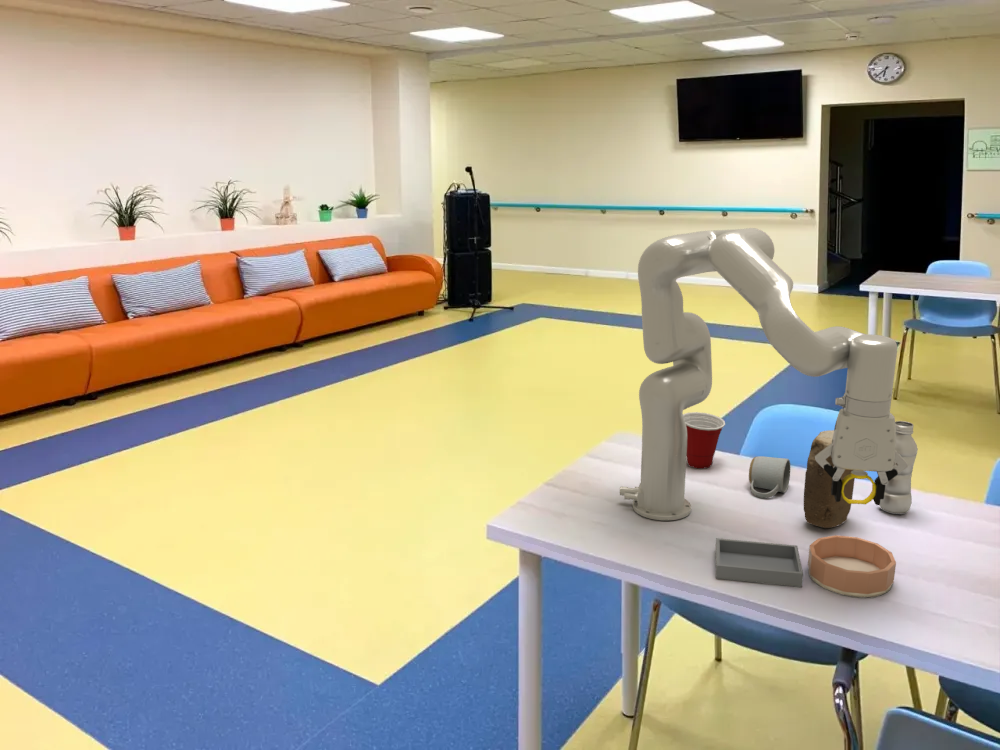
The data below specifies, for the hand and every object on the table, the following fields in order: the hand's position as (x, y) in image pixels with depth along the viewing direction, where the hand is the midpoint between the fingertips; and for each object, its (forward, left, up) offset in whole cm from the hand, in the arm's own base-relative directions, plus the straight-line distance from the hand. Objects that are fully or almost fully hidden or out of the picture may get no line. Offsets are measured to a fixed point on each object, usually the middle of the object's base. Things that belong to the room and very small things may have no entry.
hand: (856, 499), depth 157 cm
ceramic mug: (-12, +38, -16) cm, 43 cm away
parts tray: (-16, 0, -16) cm, 23 cm away
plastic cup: (-27, +51, -16) cm, 60 cm away
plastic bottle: (+14, +32, -16) cm, 38 cm away
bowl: (0, 0, -16) cm, 16 cm away
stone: (-1, +23, -16) cm, 28 cm away
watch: (0, 0, -1) cm, 1 cm away
